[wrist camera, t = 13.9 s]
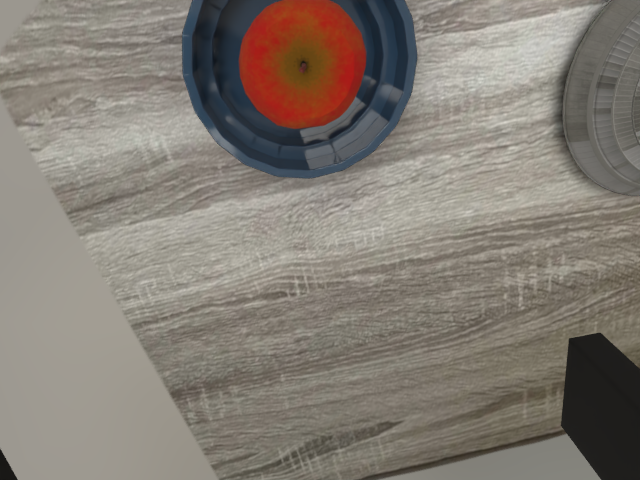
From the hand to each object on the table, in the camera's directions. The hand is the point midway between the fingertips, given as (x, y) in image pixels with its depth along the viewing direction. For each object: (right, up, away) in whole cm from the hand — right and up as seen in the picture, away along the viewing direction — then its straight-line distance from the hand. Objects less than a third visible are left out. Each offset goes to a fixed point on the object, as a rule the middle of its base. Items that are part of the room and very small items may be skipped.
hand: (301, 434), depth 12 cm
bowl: (-1, +16, +19) cm, 24 cm away
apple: (-1, +15, +18) cm, 24 cm away
